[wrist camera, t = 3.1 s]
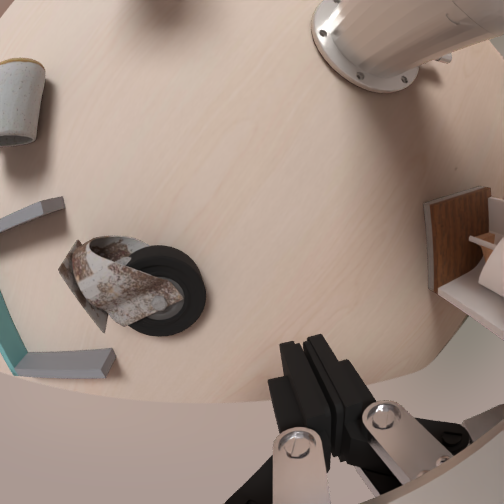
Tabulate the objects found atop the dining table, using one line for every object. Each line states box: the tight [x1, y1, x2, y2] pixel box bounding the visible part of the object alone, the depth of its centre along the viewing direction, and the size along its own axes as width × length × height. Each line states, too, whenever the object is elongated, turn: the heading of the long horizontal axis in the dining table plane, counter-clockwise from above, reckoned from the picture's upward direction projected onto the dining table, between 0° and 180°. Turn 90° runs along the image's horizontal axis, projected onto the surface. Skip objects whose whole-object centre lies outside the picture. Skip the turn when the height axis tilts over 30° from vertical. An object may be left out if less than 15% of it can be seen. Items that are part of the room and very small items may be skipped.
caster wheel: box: [58, 236, 206, 336], centre depth 23 cm, size 7×11×10 cm
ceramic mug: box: [0, 58, 45, 147], centre depth 16 cm, size 11×8×8 cm
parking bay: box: [0, 196, 116, 379], centre depth 23 cm, size 16×18×4 cm
